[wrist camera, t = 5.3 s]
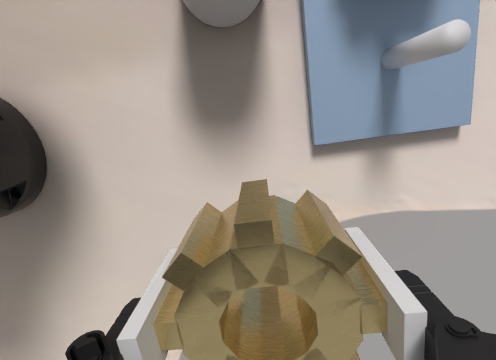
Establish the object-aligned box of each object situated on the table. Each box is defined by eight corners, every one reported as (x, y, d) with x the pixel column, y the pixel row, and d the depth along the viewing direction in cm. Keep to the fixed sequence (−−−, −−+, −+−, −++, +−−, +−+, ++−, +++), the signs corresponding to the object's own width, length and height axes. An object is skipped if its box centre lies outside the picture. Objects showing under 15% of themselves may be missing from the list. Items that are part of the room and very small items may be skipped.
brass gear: (202, 326, 18) (179, 418, 13) (171, 191, 15) (127, 236, 10) (347, 313, 17) (387, 405, 12) (340, 169, 15) (387, 206, 9)
